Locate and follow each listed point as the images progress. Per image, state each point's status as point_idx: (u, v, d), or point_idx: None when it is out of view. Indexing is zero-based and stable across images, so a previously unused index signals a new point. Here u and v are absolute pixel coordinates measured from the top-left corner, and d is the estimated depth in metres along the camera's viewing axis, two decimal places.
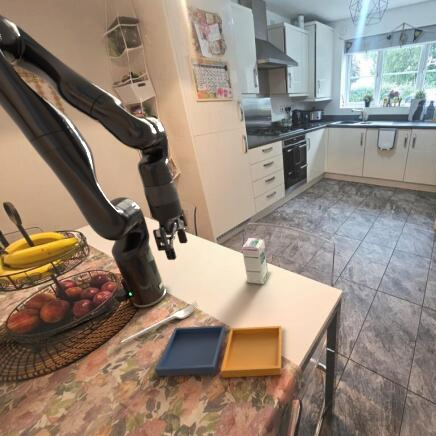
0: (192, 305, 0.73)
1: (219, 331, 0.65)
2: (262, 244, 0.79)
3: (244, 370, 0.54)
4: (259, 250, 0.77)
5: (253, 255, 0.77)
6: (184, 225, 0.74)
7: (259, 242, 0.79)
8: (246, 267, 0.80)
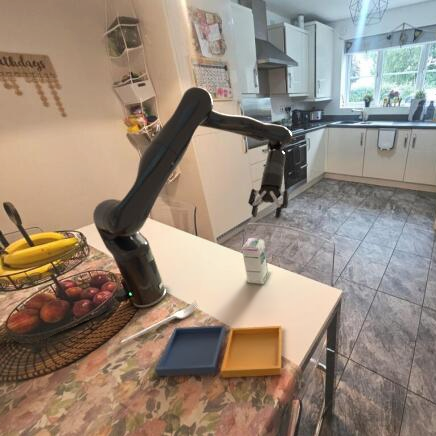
0: (192, 305, 0.73)
1: (219, 331, 0.65)
2: (262, 244, 0.79)
3: (244, 370, 0.54)
4: (259, 250, 0.77)
5: (253, 255, 0.77)
6: (282, 204, 0.86)
7: (259, 242, 0.79)
8: (246, 267, 0.80)
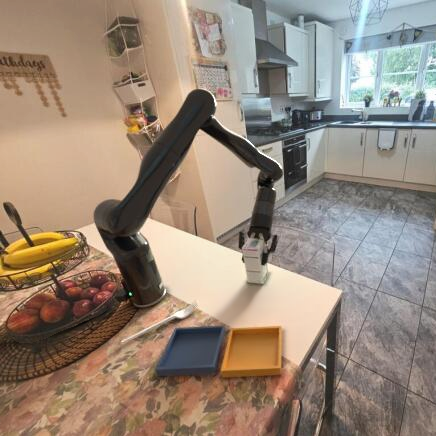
0: (192, 305, 0.73)
1: (219, 331, 0.65)
2: (262, 244, 0.79)
3: (244, 370, 0.54)
4: (259, 250, 0.77)
5: (253, 255, 0.77)
6: (269, 249, 0.80)
7: (259, 242, 0.79)
8: (246, 267, 0.80)
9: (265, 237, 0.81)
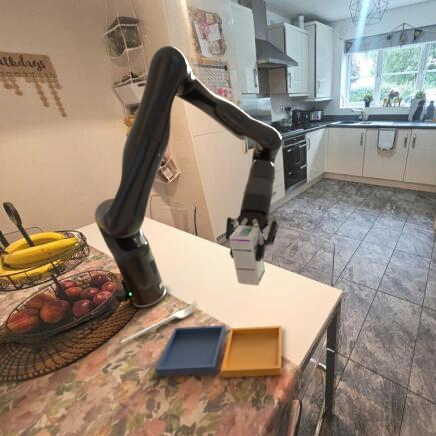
0: (192, 305, 0.73)
1: (219, 331, 0.65)
2: (257, 233, 0.60)
3: (244, 370, 0.54)
4: (253, 241, 0.57)
5: (245, 247, 0.58)
6: None
7: (252, 230, 0.59)
8: (236, 263, 0.61)
9: (261, 224, 0.62)
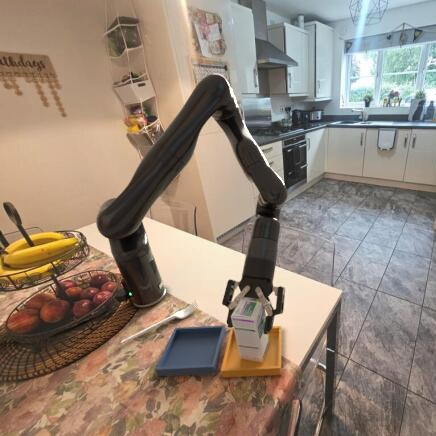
0: (192, 305, 0.73)
1: (219, 331, 0.65)
2: (261, 308, 0.54)
3: (244, 370, 0.54)
4: (257, 320, 0.52)
5: (248, 327, 0.52)
6: (276, 310, 0.54)
7: (256, 306, 0.53)
8: (238, 341, 0.55)
9: (264, 293, 0.56)
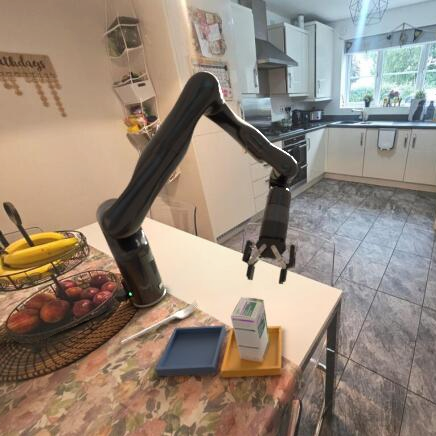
0: (192, 305, 0.73)
1: (219, 331, 0.65)
2: (261, 308, 0.54)
3: (244, 370, 0.54)
4: (257, 320, 0.52)
5: (248, 327, 0.52)
6: (289, 264, 0.63)
7: (256, 306, 0.53)
8: (238, 341, 0.55)
9: (279, 250, 0.65)
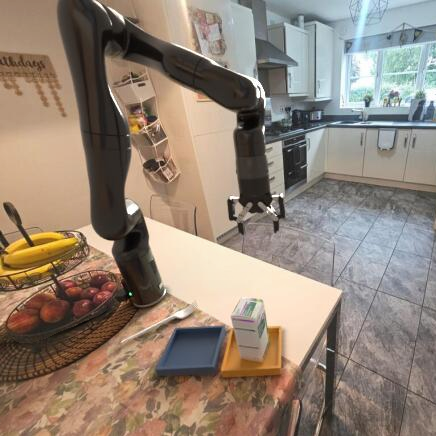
0: (192, 305, 0.73)
1: (219, 331, 0.65)
2: (261, 308, 0.54)
3: (244, 370, 0.54)
4: (257, 320, 0.52)
5: (248, 327, 0.52)
6: (280, 215, 0.62)
7: (256, 306, 0.53)
8: (238, 341, 0.55)
9: (267, 204, 0.60)
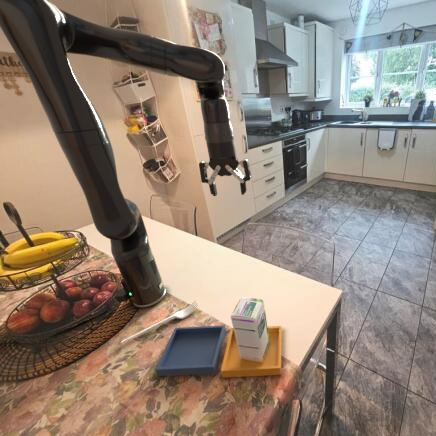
0: (192, 305, 0.73)
1: (219, 331, 0.65)
2: (261, 308, 0.54)
3: (244, 370, 0.54)
4: (257, 320, 0.52)
5: (248, 327, 0.52)
6: (246, 178, 0.71)
7: (256, 306, 0.53)
8: (238, 341, 0.55)
9: (233, 167, 0.70)
